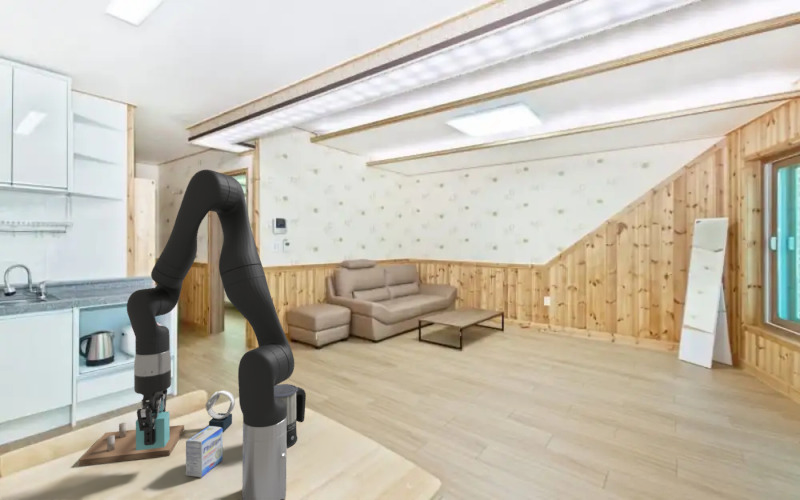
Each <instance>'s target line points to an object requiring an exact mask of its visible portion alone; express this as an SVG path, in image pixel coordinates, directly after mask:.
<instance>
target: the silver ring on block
mask: <svg viewBox="0 0 800 500" xmlns="http://www.w3.org/2000/svg"><path fill="white" fill-rule="evenodd" d="M221 395H223V396H225V397H227V398H228V399H229V402H230V403H229V407H228V409H227V411H226V413H223V412H221V413H216V412H215V410H214V409H213V407H214V405H215V404H216V403H217V401H218V400H219V399H220V396H221ZM235 401H236V399H235V397H234V395H233V394H232V393H231V392H230V391H228V390H225V389H224V390H223V389H222V390H219V391H217V390H216V391H215V392H214V393H212V394H211V396H210V397H209V399H208V400H207V401H206V403H205V407H206V408H205V410H206V412H207V414H208V415H209V416H210V418H211V419H210V420H209V421H208V426H215V427H221V428H223V433H225V431H227V429H228V428H229V427H230V426H232V424H233V413H232V411H233V410H234V408H235V405H236V402H235Z"/></svg>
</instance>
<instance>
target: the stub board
mask: <svg viewBox="0 0 800 500" xmlns="http://www.w3.org/2000/svg"><path fill="white" fill-rule="evenodd" d="M184 431H185V424H180V425H170V439H169V441H168V442H167V444H166V446H165V447H161V448H153V449H145V450H137V451H136V429H129V430H127V422H121V423H119V424H118V431H109V432H108V431H107V432H104V434H103V435H102V436H101V437H100V438H99V439H97V441H96V442H95V443H94V444H93V445H92V446H91V447H89V449H88V450H87V451H86V452H85V453H84V454H83V455H82V456H81V457H80V458H79V459H78V466H79V467H81V466H83V467H84V466H89V465H90V466H91V465H98V464H109V463H115V462H116V463H117V462H124V461H134V460H141V459H150V458H160V457H170V456H171V453H173V451H174V449H175V447H176V445H177V443H178V441H179V440H180V438H181V437H182V434H183V433H184Z"/></svg>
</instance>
